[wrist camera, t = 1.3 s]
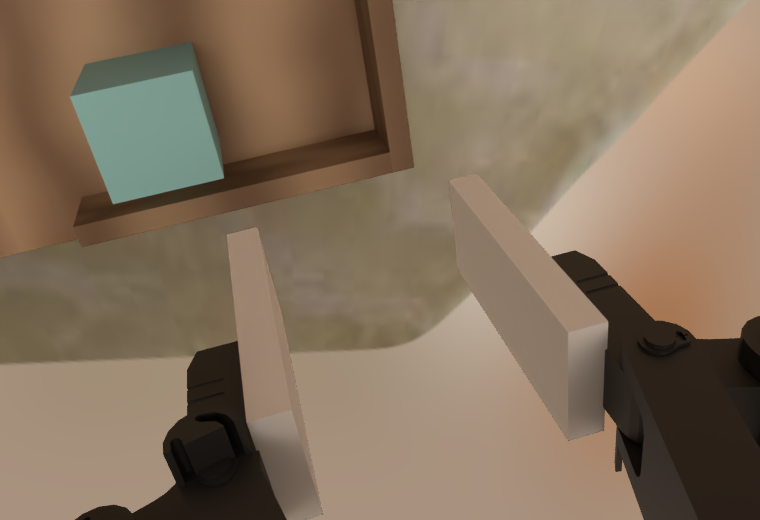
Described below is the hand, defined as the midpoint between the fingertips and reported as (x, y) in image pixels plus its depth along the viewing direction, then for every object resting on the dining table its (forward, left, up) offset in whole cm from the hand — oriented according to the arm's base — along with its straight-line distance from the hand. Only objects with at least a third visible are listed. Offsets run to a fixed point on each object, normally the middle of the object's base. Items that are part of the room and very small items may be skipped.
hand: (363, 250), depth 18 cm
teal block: (-6, 0, -16) cm, 17 cm away
